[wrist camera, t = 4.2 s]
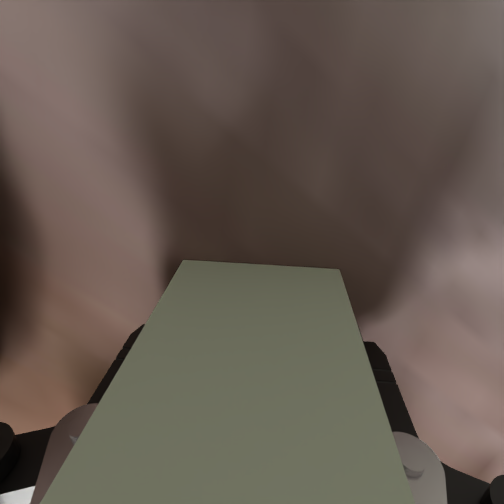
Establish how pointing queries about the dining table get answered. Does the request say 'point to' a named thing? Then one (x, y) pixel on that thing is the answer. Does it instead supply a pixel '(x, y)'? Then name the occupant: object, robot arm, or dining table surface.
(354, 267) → the dining table surface
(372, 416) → the sage block
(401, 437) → the robot arm
